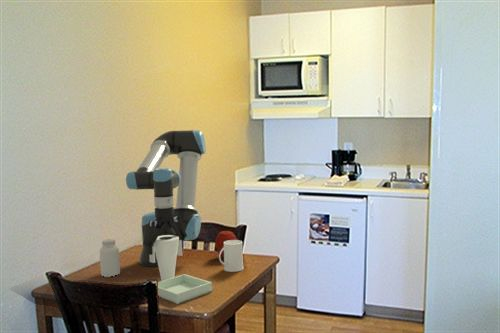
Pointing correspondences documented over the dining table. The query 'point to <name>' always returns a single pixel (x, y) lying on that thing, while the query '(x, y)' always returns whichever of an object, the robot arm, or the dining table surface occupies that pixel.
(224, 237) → the red rounded piece
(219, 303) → the dining table surface
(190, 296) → the tray
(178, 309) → the dining table surface
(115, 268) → the pill bottle
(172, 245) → the cup
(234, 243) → the mug
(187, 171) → the robot arm
